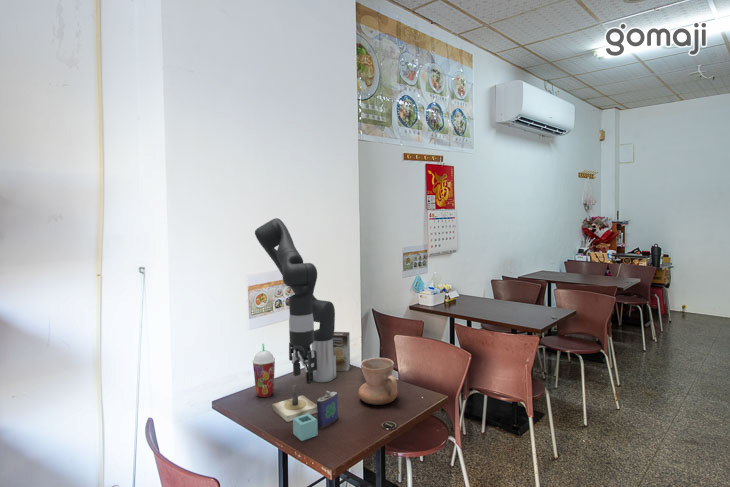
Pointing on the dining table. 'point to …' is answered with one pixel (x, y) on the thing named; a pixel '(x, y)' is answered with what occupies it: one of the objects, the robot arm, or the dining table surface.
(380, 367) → the ceramic jug
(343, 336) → the coffee box
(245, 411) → the dining table surface
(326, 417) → the flask
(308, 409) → the shaft stand
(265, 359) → the smoothie
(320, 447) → the dining table surface
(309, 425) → the teal hollow block
